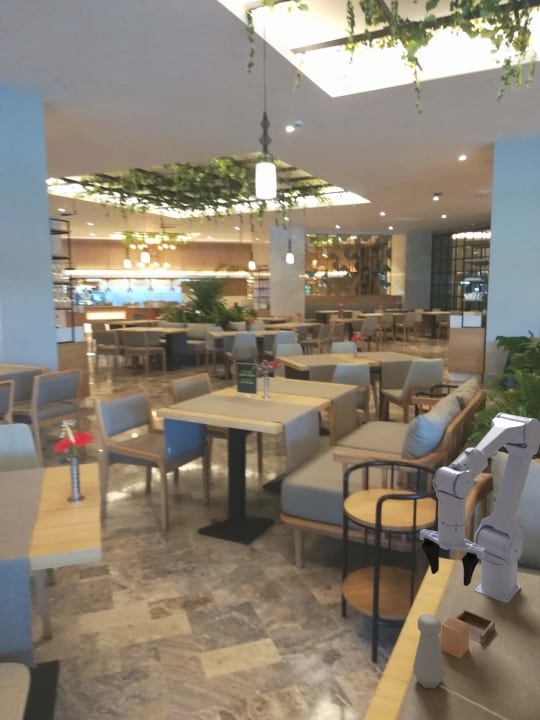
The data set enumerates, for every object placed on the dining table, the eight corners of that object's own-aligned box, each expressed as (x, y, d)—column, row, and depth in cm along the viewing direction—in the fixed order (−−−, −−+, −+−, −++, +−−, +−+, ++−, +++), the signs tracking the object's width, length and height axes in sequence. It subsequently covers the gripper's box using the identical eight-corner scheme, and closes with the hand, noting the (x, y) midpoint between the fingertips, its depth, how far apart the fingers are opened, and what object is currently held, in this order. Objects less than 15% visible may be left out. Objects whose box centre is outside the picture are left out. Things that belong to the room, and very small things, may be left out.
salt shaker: (446, 694, 98) (447, 629, 97) (414, 690, 100) (414, 626, 98) (442, 672, 104) (443, 610, 102) (412, 669, 105) (412, 607, 104)
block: (450, 642, 113) (450, 616, 112) (468, 650, 110) (469, 623, 109) (441, 651, 110) (441, 624, 109) (460, 660, 107) (460, 633, 107)
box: (463, 617, 121) (463, 608, 121) (494, 630, 116) (494, 621, 116) (450, 631, 116) (450, 622, 116) (482, 645, 112) (482, 635, 111)
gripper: (413, 517, 121) (413, 573, 123) (476, 536, 111) (475, 597, 113) (428, 508, 126) (427, 562, 128) (489, 525, 116) (488, 583, 118)
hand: (450, 577), depth 120 cm, fingers open, 7 cm apart
